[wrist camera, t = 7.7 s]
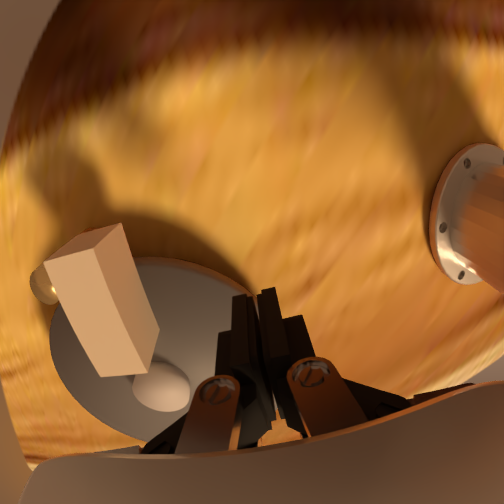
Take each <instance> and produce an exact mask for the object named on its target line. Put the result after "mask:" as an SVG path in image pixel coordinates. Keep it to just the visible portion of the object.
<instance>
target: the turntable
mask: <svg viewBox="0 0 504 504" xmlns="http://www.w3.org/2000/svg"><path fill="white" fill-rule="evenodd" d="M43 263H44V266H45V268H46V271H47V273H48V276H49V278H50V281H51V283H52V285H53V288H54V290H55V292H56V294H57V297H58V299H59V301H60V304H59V305H58V307H57V309H56V310H55V313H54V316H53V318H52V321H51V327H50V350H51V356H52V359H53V362H54V365H55V368H56V370H57V372H58V374H59V377H60V378H61V380H62V382H63V383H64V385H65V387H66V388H67V389H68V391H69V392H70V393H71V395H72V396H73V397H74V398H75V399H76V400H77V401H78V402H79V403H80V404H81V405H82V407H84V408H85V409H86V410H87V411H88V412H89V413H91V414H92V415H93V416H94V417H96V418H97V419H99V420H100V421H101V422H103V423H105V424H106V425H108V426H110V427H111V428H113V429H115V430H117V431H119V432H121V433H123V434H126V435H128V436H131V437H133V438H136V439H139V440H143V441H146V442H149V441H150V440H151V439H153V438H154V437H155V436H157V435H158V434H160V433H161V432H162V431H164V430H165V429H166V428H167V427H169V426H170V425H171V424H173V423H174V422H175V421H177V420H178V419H179V418H181V417H182V416H183V415H184V414H186V413H187V412H188V411H189V408H190V405H191V402H192V399H193V396H194V393H195V390H196V389H197V387H198V386H199V385H200V384H201V383H202V382H203V381H204V380H206V379H208V378H210V377H213V376H214V375H215V363H216V352H217V341H218V333H219V332H223V331H228V330H231V316H232V296H236V295H241V294H245V293H246V294H247V296H248V297H249V296H253V299H254V303H255V306H256V310H257V314H258V318H259V313H258V303H257V298H256V297H255V296H254V295H253V294H251V293H250V292H249V291H248V290H247V289H245V288H244V287H243V286H241V285H240V284H238V283H237V282H235V281H233V280H232V279H230V278H229V277H227V276H225V275H223V274H221V273H219V272H217V271H215V270H212V269H210V268H207V267H204V266H201V265H199V264H196V263H193V262H188V261H184V260H179V259H175V258H166V257H156V256H151V257H132V254H131V251H130V248H129V245H128V242H127V239H126V236H125V233H124V230H123V226H122V223H117V224H114V225H110V226H107V227H103V228H100V229H96V230H93V231H89V232H86V233H82V234H79V235H77V236H75V237H74V238H73V239H71V240H70V241H69V242H67V243H66V244H65V245H64V246H62V247H61V248H60V249H58V250H57V251H56V252H55V253H53V254H52V255H51V256H50V257H49V258H47V259H46V260H45V261H44V262H43ZM273 396H274V394H273ZM274 404H275V411H276V409H277V404H276V401H275V398H274Z"/></svg>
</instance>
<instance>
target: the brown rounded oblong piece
mask: <svg viewBox="0 0 504 504" xmlns="http://www.w3.org/2000/svg"><path fill="white" fill-rule="evenodd" d="M93 230H96V228H88V229H86V230H84V231H83V232H82V233H86V232H89V231H93ZM82 233H80V234H82ZM30 286H31V289H32V292H33V293H34V295H35V296H36V297H37V299H38V300H40V301H41V302H43V303H45V304H48V305H52V304H55V303H57V302H58V301H59V299H58V297H57V294H56V292H55V290H54V288H53V285H52V283H51V281H50V278H49V276H48V273H47V271H46V268H45V266H44V263H43V264H42V265H40V266H39V267H38V268H37V269H36V270H35V271H33V272H32V274H31V276H30Z"/></svg>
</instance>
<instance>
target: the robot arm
mask: <svg viewBox="0 0 504 504" xmlns="http://www.w3.org/2000/svg"><path fill="white" fill-rule="evenodd" d="M429 235H430V245H431V249H432V254H433V257H434V259H435V261H436V263H437V266H438V267H439V268H440V270H441V271H442V272H443V273H444V274H445V275H446V276H448V277H449V278H450V279H451V280H453V281H454V282H456V283H458V284H464V285H470V284H475V283H478V282H481V281H483V280H484V281H485V282H487V283H488V284H490V285H491V286H492V287H494V288H495V289H497V290H498V291H499V292H501V293H502V294H503V295H504V151H503V150H502V149H501V148H499V147H497V146H495V145H491V144H486V143H474V144H471V145H468V146H466V147H465V148H463V149H462V150H460V151H459V152H458V153H457V154H456V155H455V156H454V157H453V158H452V159H451V160H450V162H449V163H448V165H447V166H446V168H445V169H444V171H443V173H442V175H441V177H440V179H439V182H438V184H437V187H436V190H435V193H434V197H433V200H432V206H431V211H430V222H429ZM261 292H262V294H258V295H257V303H258V313H259V318H258V314H257V310H256V306H255V303H254V299H253V296H249V297H248V296H247V294H246V293H245V294H241V295H236V296H232V316H231V330H228V331H223V332H219V333H218V341H217V352H216V363H215V375H214V376H213V377H210V378H208V379H206V380H204V381H203V382H202V383H201V384H200V385H199V386H198V387H197V389H196V390H195V393H194V396H193V399H192V402H191V405H190V408H189V411H188V412H187V413H186V414H184V415H183V416H182V417H181V418H179V419H178V420H177V421H175V422H174V423H173V424H171V425H170V426H169V427H167V428H166V429H165V430H164V431H162V432H161V433H160V434H158V435H157V436H155V437H154V438H153V439H151V440H150V441H149V442H148V443H147V444H146V445H145V446H144V448H141V447H140V446H139V445H138V446H132V447H127V448H121V449H115V450H108V451H101V452H94V453H74V454H65V455H60V456H56V457H52V458H50V459H47V460H45V461H43V462H41V463H40V464H39V465H38V466H37V467H36V468H35V469H34V471H33V472H32V474H31V476H30V477H29V479H28V481H27V483H26V485H25V487H24V490H23V492H22V494H21V497H20V500H19V502H18V504H504V381H492V382H484V383H479V384H473V383H466V384H461V385H457V386H453V387H449V388H445V389H441V390H436V391H431V392H427V393H422V394H416V395H414V397H413V398H412V399H407V400H406V399H405V398H403V397H401V396H399V395H396V394H392V393H389V392H385V391H382V390H378V389H375V388H372V387H369V386H365V385H362V384H359V383H356V382H353V381H350V380H347V379H344V378H342V377H341V376H340V374H339V373H338V371H337V369H336V368H335V366H334V365H333V364H332V363H331V362H330V361H329V360H327V359H325V358H321V357H316V356H315V353H314V350H313V346H312V343H311V340H310V337H309V334H308V331H307V328H306V325H305V322H304V319H303V316H302V315H298V316H293V317H289V318H285V319H282V316H281V311H280V307H279V302H278V298H277V294H276V289H275V287H272V288H268V289H263V290H261ZM273 394H274V396H273ZM274 398H275V401H276V404H277V408H278V411H279V414H280V418H281V419H286V423H287V426H288V427H290V428H292V429H294V430H296V431H298V432H300V436H301V439H300V440H295V441H290V442H285V443H279V444H273V445H267V446H262V438H261V437H262V436H263V435H264V434H265V433H266V432H267V431H268V430H272V426H271V421H274V420H276V412H275V404H274Z"/></svg>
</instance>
